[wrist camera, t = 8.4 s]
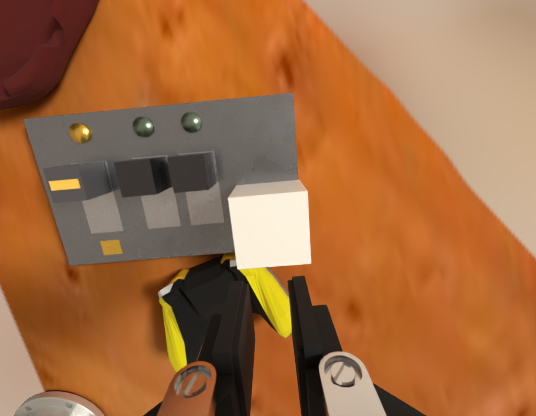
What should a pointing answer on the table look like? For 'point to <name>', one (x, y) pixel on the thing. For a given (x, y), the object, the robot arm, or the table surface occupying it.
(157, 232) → the panel
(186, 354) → the gaming controller
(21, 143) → the table surface
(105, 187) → the toggle
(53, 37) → the ashtray
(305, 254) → the chalk-white cube
